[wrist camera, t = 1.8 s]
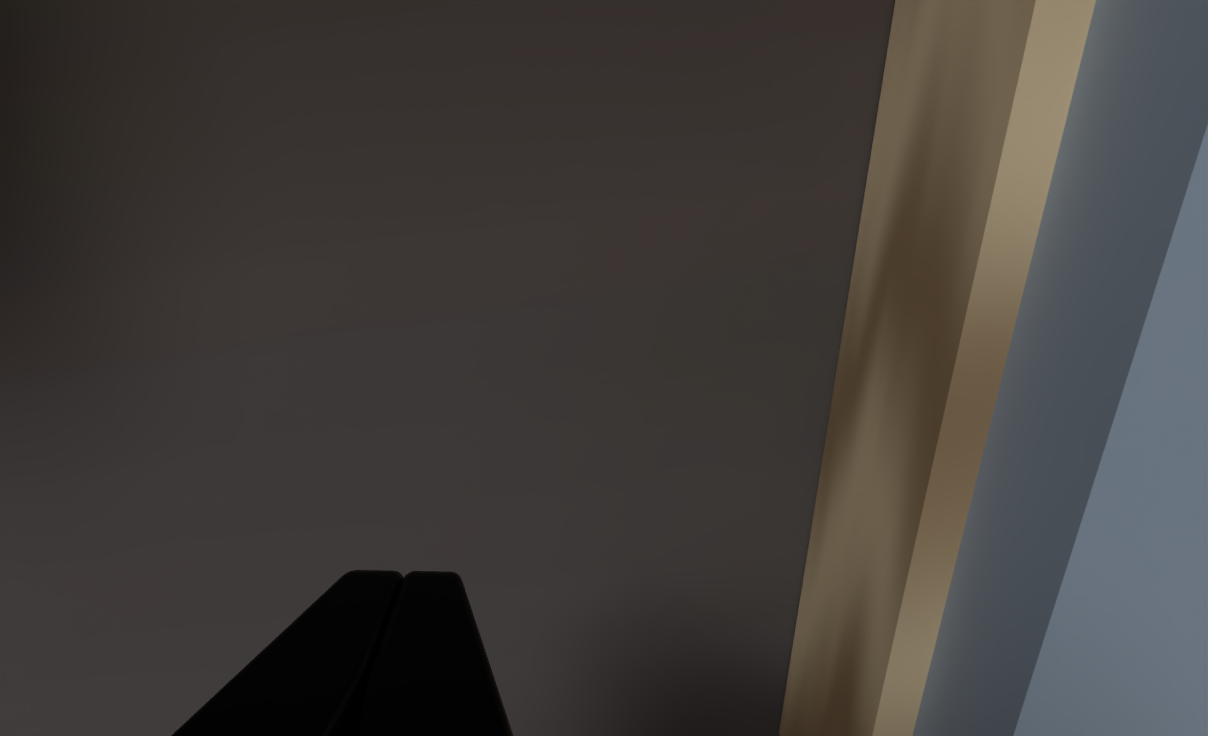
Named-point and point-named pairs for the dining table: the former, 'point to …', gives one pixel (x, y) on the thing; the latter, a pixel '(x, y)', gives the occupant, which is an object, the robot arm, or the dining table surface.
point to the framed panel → (925, 343)
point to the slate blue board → (1099, 423)
